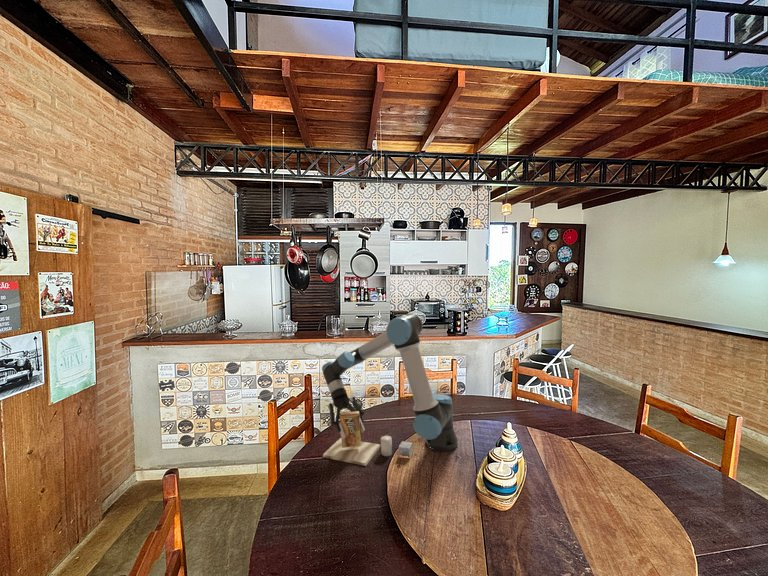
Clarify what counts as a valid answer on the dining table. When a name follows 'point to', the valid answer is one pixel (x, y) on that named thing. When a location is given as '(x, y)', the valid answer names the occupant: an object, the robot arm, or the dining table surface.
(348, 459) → the birch board
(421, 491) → the dining table surface
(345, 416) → the candy box
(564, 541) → the dining table surface
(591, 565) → the dining table surface
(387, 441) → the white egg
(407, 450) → the metal block
